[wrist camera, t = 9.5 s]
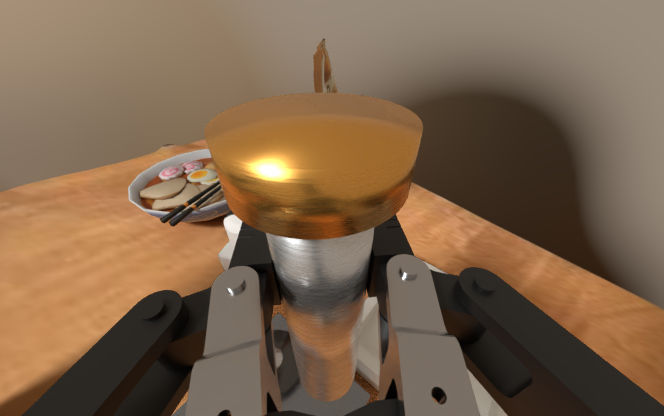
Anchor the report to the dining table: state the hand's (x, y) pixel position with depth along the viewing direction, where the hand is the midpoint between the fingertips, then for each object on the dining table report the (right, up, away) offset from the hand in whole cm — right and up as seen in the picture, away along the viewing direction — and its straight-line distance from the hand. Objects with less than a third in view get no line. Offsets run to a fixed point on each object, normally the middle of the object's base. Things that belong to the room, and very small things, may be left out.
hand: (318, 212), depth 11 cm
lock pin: (0, -9, +3) cm, 9 cm away
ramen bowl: (-24, +1, +40) cm, 47 cm away
